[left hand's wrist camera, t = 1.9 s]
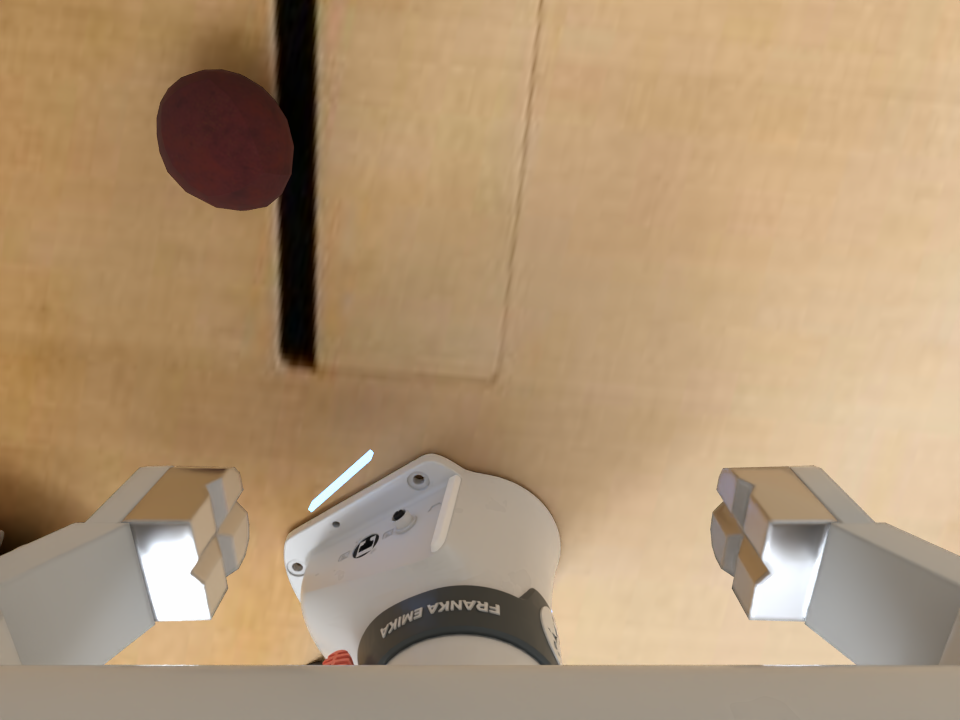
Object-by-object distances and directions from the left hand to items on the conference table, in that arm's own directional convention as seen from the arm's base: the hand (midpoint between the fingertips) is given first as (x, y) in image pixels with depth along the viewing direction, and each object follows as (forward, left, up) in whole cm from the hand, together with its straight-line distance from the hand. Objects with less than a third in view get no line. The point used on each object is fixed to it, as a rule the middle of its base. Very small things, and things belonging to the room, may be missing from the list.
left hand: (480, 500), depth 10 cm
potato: (-12, +10, -31) cm, 35 cm away
